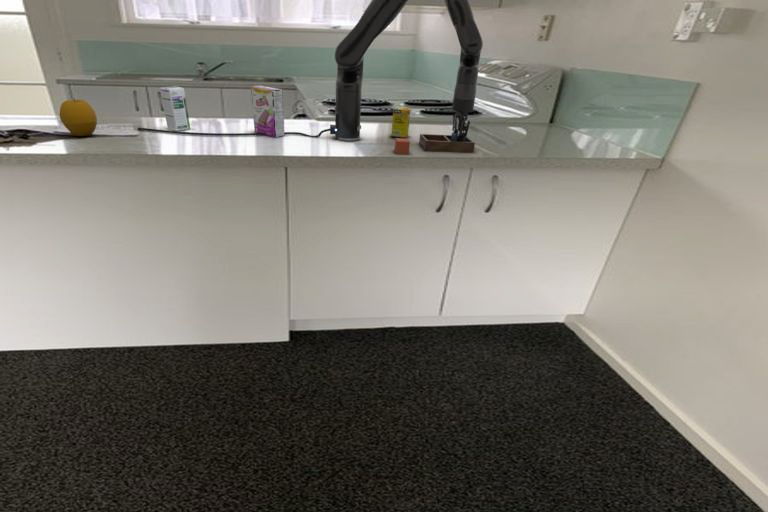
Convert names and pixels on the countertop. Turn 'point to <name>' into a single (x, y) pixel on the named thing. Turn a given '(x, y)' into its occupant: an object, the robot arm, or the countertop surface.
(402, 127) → the supplement box
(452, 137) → the blue block
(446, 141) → the sorting tray
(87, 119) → the apple
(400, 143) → the terracotta block
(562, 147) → the countertop surface
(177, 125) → the syrup box
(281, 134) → the candy bar box
